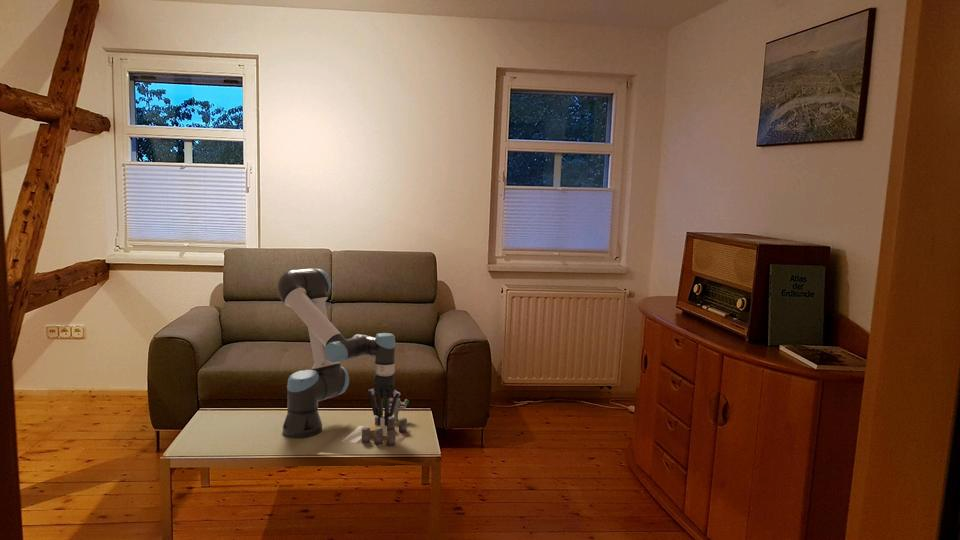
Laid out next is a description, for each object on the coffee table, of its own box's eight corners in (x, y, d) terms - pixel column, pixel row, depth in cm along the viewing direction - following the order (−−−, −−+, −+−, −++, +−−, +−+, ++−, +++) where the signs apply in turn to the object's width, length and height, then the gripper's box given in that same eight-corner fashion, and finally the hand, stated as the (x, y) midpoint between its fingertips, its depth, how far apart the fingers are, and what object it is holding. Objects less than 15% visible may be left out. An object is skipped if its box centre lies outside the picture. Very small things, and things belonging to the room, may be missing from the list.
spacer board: (341, 443, 230) (341, 428, 229) (359, 427, 247) (359, 413, 247) (397, 449, 226) (397, 434, 225) (411, 433, 243) (411, 418, 243)
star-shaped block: (361, 437, 234) (361, 429, 234) (368, 431, 241) (368, 424, 240) (378, 439, 233) (378, 431, 232) (384, 433, 239) (384, 425, 239)
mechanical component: (407, 423, 254) (408, 400, 253) (383, 422, 254) (383, 399, 253) (408, 421, 257) (409, 398, 256) (384, 420, 257) (384, 397, 256)
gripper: (364, 374, 231) (363, 435, 233) (397, 377, 229) (396, 438, 231) (371, 369, 239) (370, 428, 241) (403, 372, 236) (402, 431, 238)
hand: (383, 433), depth 236 cm, fingers closed
